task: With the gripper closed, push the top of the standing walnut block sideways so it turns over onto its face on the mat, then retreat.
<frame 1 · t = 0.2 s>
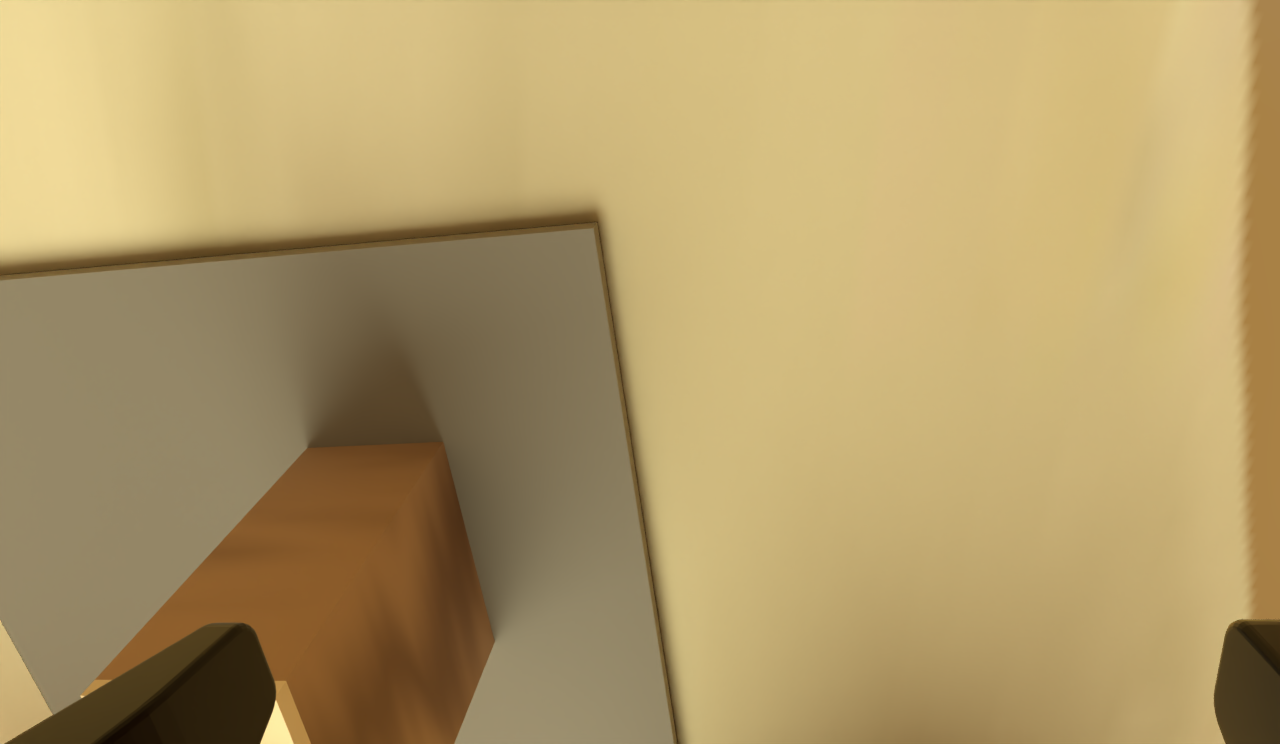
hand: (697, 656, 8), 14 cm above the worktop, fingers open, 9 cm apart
mat: (287, 541, 27), on the worktop
block: (405, 549, 26), resting on mat
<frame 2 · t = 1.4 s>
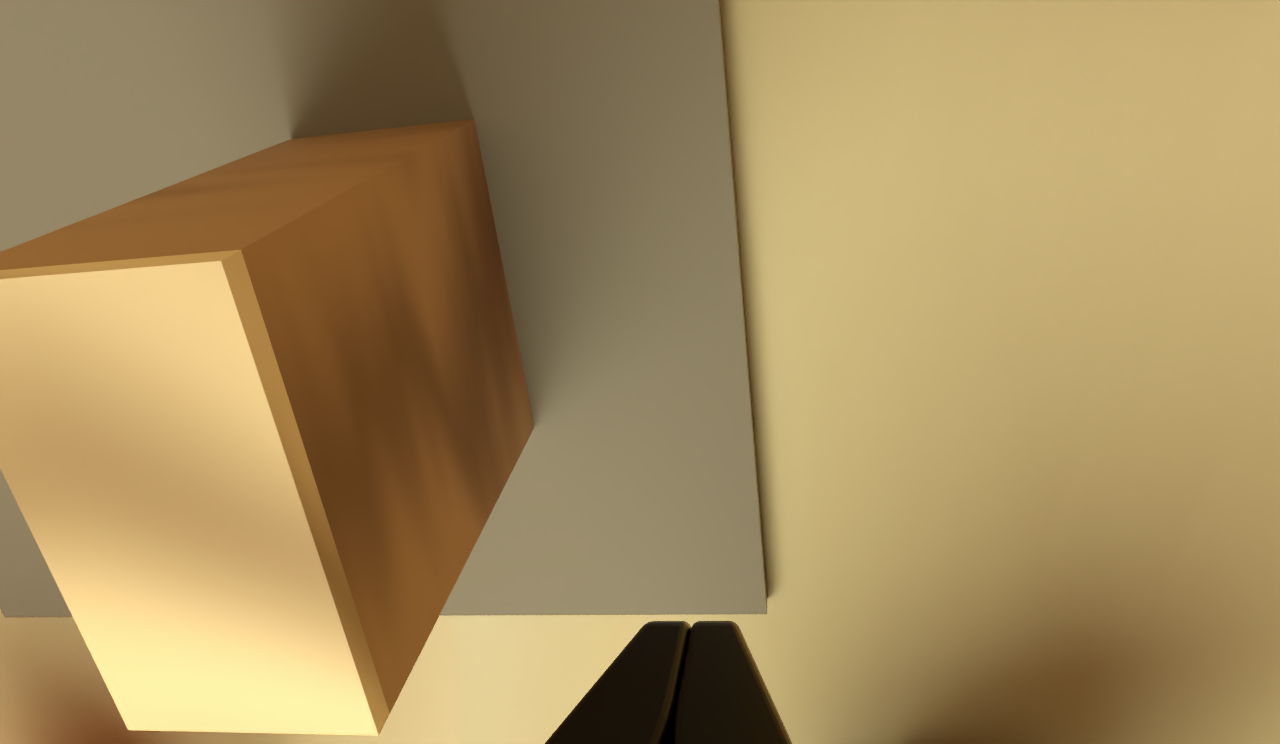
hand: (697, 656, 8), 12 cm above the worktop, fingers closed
mat: (265, 295, 21), on the worktop
block: (419, 291, 19), resting on mat
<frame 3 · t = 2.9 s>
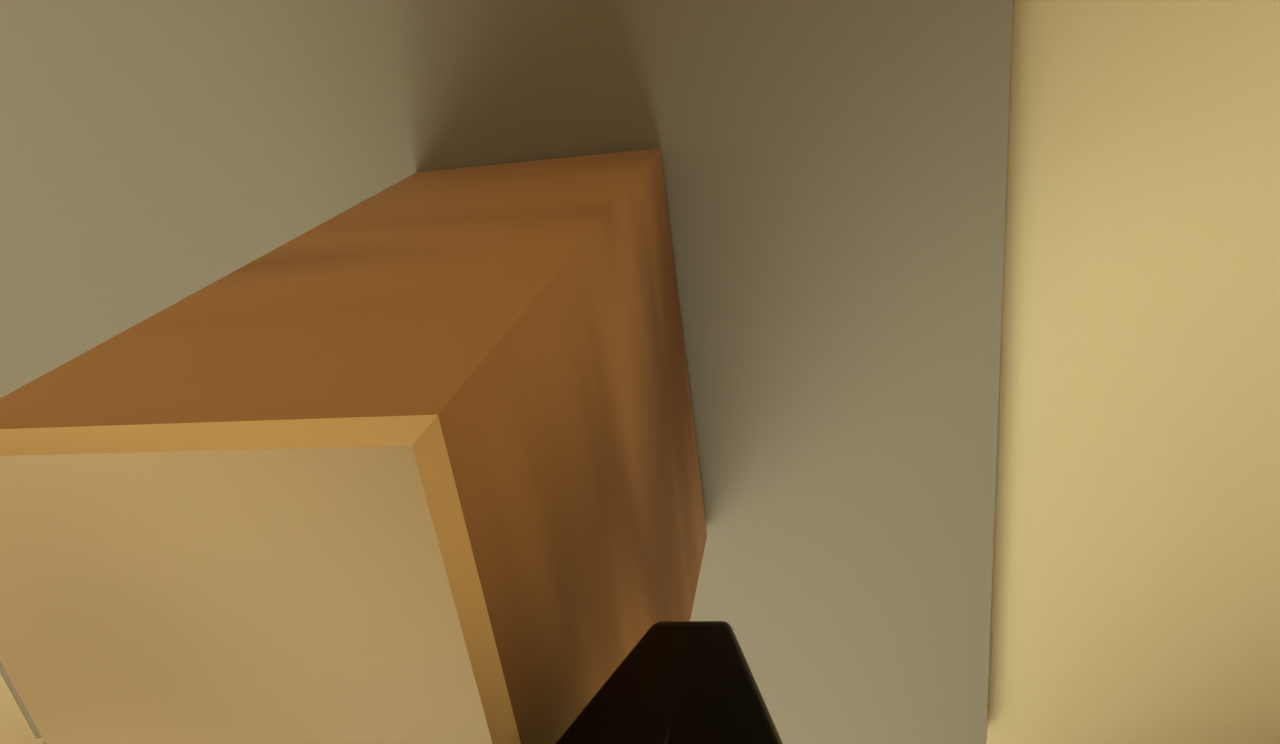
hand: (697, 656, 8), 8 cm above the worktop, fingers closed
mat: (368, 365, 16), on the worktop
block: (570, 365, 15), point 1 cm above the worktop, touching gripper, mat
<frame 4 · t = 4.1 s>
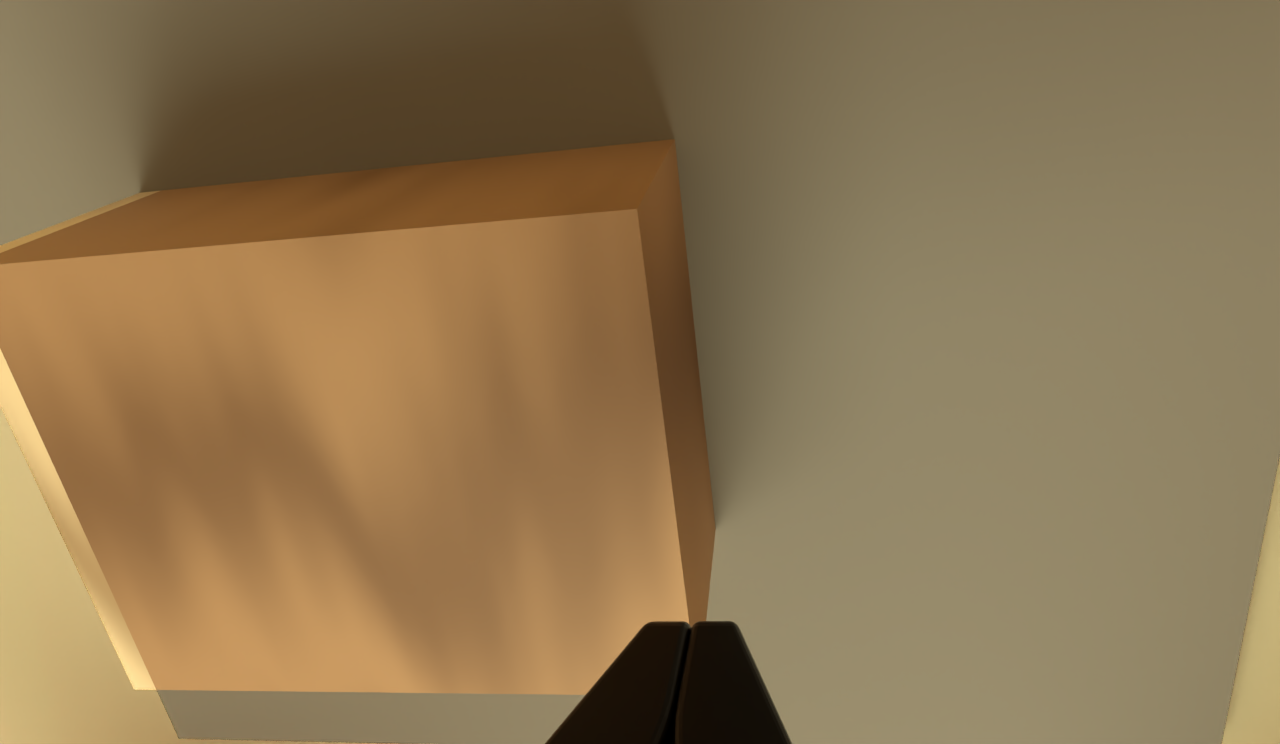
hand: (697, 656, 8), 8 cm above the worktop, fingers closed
mat: (586, 348, 15), on the worktop
block: (686, 409, 13), point 2 cm above the worktop, tilted 90°, touching mat
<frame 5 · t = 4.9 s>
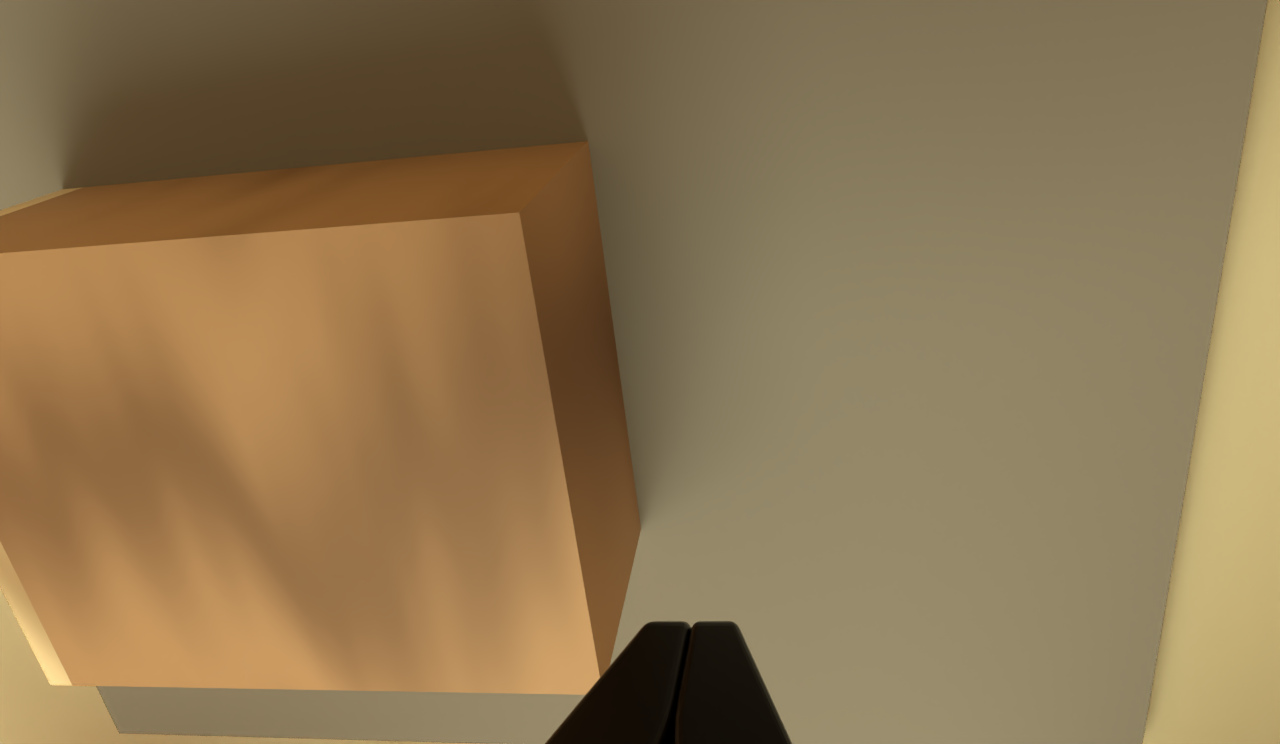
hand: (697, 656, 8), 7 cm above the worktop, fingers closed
mat: (510, 348, 15), on the worktop
block: (595, 410, 13), point 2 cm above the worktop, tilted 90°, touching mat
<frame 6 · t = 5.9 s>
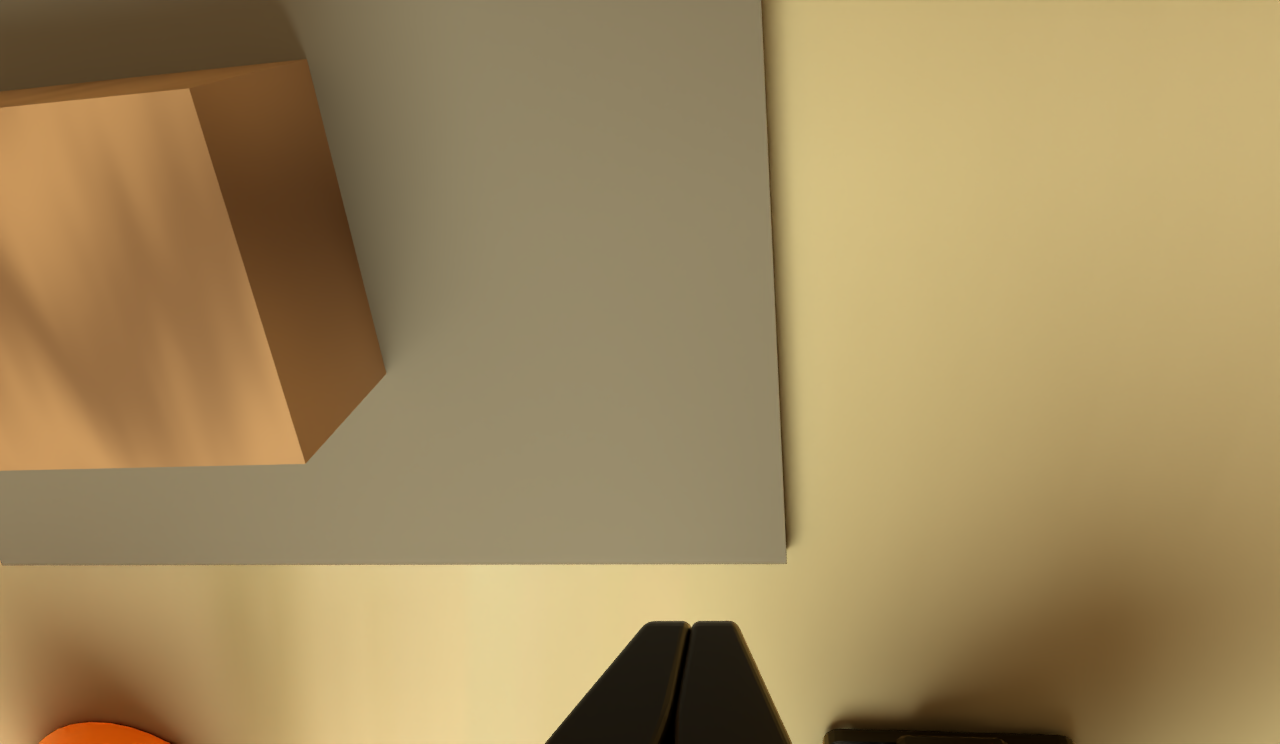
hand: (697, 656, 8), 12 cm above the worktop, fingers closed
mat: (277, 227, 20), on the worktop
block: (306, 257, 17), point 2 cm above the worktop, tilted 90°, touching mat
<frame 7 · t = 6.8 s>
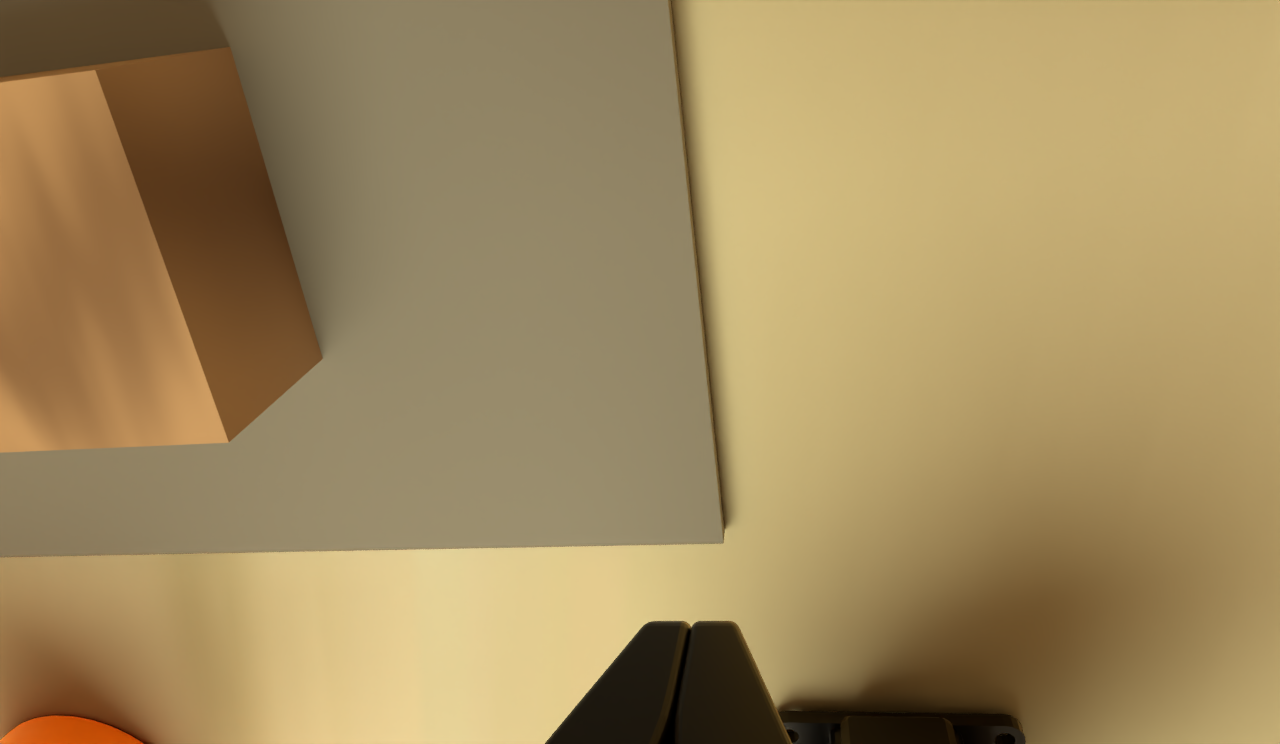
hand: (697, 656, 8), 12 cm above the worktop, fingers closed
mat: (212, 215, 20), on the worktop
block: (229, 240, 18), point 2 cm above the worktop, tilted 90°, touching mat
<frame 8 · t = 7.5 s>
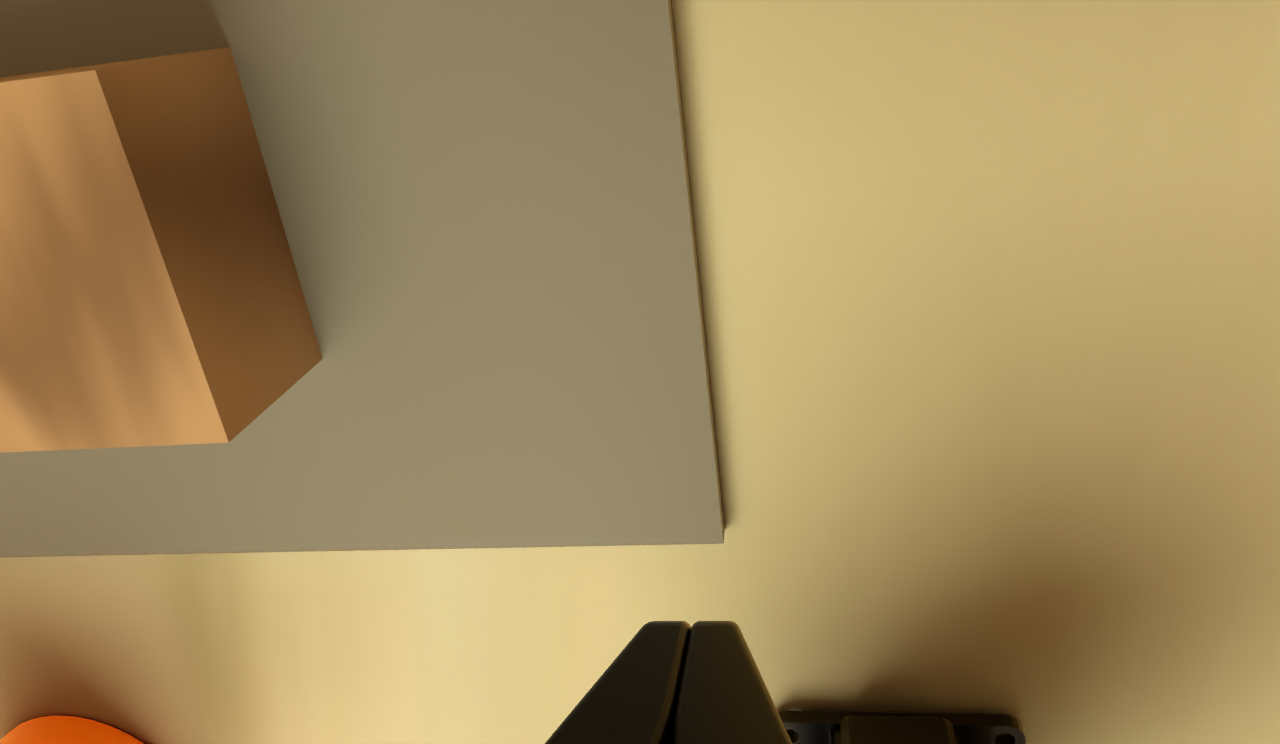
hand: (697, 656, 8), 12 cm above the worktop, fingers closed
mat: (212, 215, 20), on the worktop
block: (229, 240, 18), point 2 cm above the worktop, tilted 90°, touching mat
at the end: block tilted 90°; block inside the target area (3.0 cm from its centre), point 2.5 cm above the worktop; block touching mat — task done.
